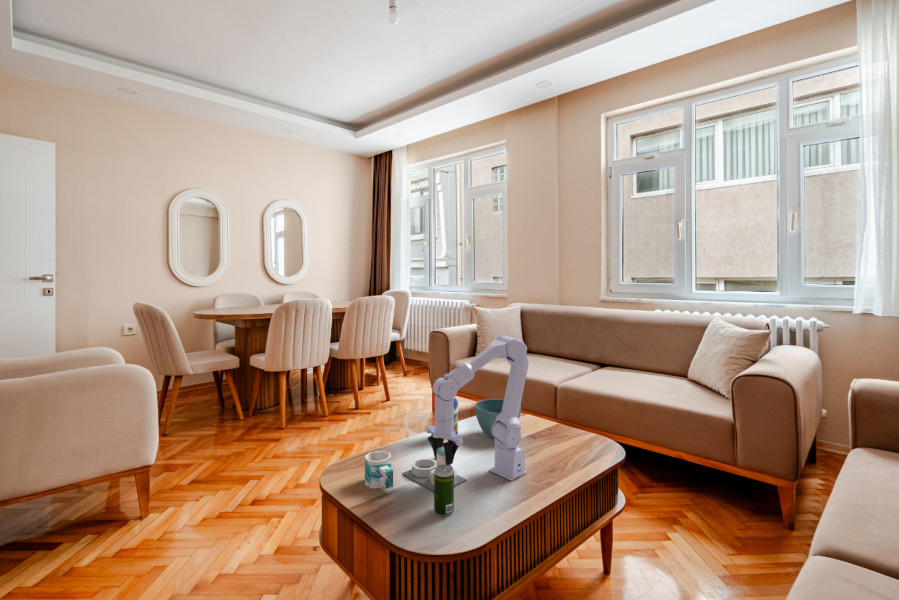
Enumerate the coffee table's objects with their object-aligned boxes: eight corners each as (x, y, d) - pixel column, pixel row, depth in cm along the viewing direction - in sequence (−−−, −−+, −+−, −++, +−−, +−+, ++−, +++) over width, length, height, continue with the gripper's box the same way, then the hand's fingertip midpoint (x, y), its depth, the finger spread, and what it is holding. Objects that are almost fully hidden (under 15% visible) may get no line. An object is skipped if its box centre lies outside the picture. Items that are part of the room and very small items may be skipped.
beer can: (457, 511, 116) (458, 468, 116) (444, 519, 112) (444, 475, 112) (443, 504, 120) (443, 462, 119) (429, 512, 116) (429, 468, 115)
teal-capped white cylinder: (454, 469, 132) (454, 450, 132) (443, 473, 129) (443, 454, 129) (444, 464, 135) (444, 445, 135) (433, 468, 132) (433, 449, 132)
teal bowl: (499, 424, 184) (500, 396, 183) (530, 438, 169) (530, 407, 168) (465, 433, 174) (465, 403, 173) (494, 448, 159) (495, 415, 158)
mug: (384, 473, 138) (384, 448, 138) (401, 489, 128) (401, 462, 128) (360, 480, 134) (360, 454, 133) (376, 497, 124) (376, 469, 123)
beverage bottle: (449, 432, 175) (449, 383, 174) (462, 438, 168) (463, 388, 167) (432, 436, 170) (432, 386, 169) (445, 443, 163) (445, 391, 162)
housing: (466, 481, 134) (466, 471, 133) (437, 494, 125) (437, 484, 125) (430, 463, 146) (430, 454, 146) (402, 474, 138) (402, 465, 138)
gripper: (418, 415, 134) (418, 457, 135) (451, 427, 123) (450, 473, 124) (435, 410, 139) (435, 451, 139) (468, 421, 128) (467, 466, 129)
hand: (443, 461), depth 132 cm, fingers closed on teal-capped white cylinder, 4 cm apart
